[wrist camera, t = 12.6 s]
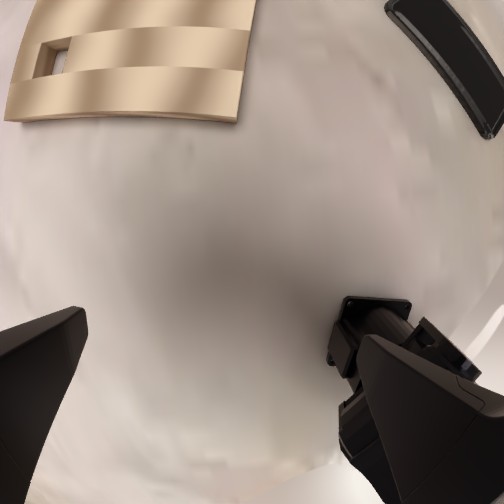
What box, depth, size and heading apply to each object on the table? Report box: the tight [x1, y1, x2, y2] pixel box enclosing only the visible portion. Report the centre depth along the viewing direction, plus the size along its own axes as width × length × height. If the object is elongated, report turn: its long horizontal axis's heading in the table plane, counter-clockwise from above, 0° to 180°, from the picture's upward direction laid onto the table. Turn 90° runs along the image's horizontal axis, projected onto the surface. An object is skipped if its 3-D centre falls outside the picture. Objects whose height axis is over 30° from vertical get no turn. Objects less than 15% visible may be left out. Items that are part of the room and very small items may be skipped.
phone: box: [384, 0, 504, 139], centre depth 17 cm, size 8×1×15 cm
